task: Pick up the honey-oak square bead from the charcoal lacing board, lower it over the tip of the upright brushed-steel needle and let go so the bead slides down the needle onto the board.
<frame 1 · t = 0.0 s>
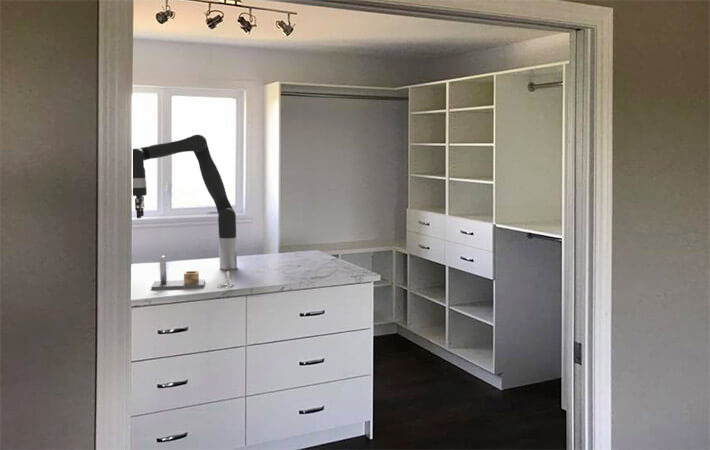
hand: (140, 217, 335), 29 cm above the cabinet, fingers open, 8 cm apart
stand: (225, 287, 305), on the cabinet
lacing board: (178, 286, 306), on the cabinet
oak bead: (191, 282, 307), point 1 cm above the cabinet, touching lacing board
steel needle: (163, 286, 305), resting on lacing board
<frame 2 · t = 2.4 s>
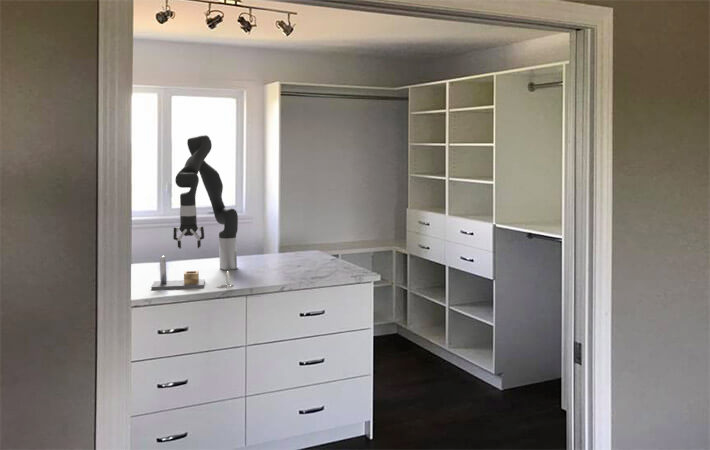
hand: (189, 248, 305), 18 cm above the cabinet, fingers open, 8 cm apart
nothing on the cabinet moved.
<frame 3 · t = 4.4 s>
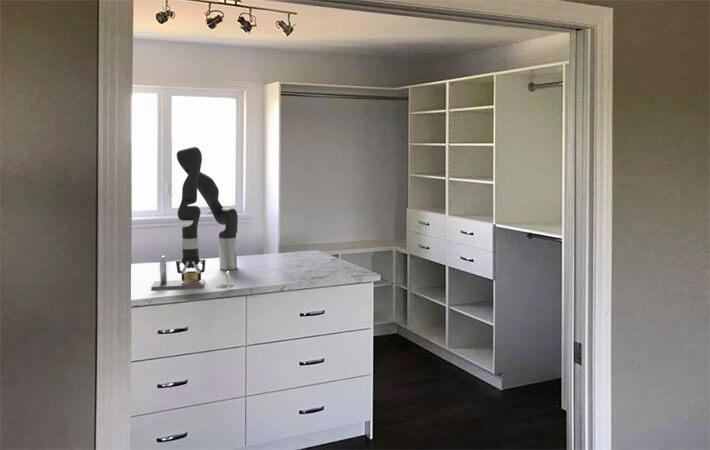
hand: (191, 281, 307), 2 cm above the cabinet, fingers closed on oak bead, 6 cm apart
oak bead: (191, 282, 307), point 2 cm above the cabinet, touching gripper, lacing board
everything else where it was.
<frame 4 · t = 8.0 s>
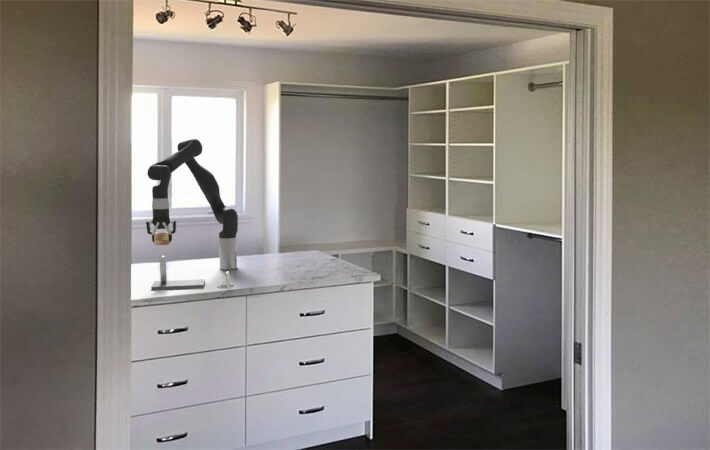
hand: (162, 242, 302), 22 cm above the cabinet, fingers closed on oak bead, 6 cm apart
oak bead: (162, 243, 302), point 21 cm above the cabinet, touching gripper
everything else where it was.
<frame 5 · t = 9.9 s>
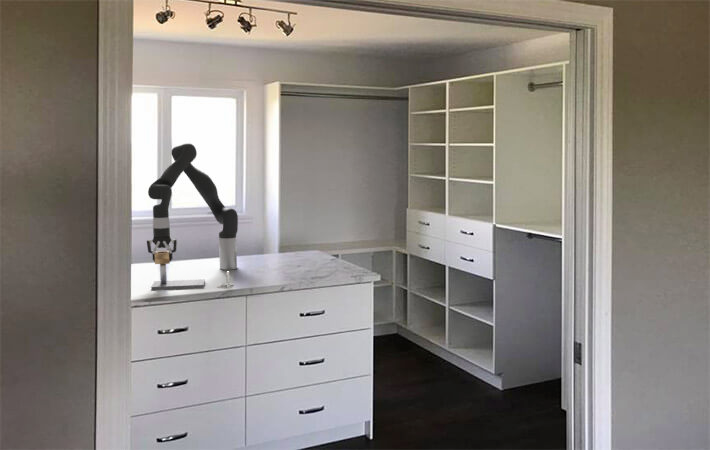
hand: (162, 261, 303), 13 cm above the cabinet, fingers closed on oak bead, 6 cm apart
oak bead: (162, 262, 303), point 12 cm above the cabinet, touching gripper
everything else where it was.
when the fingers open (11 cm above the cabinet, at t = 11.5 s): oak bead drops 8 cm, resting on lacing board.
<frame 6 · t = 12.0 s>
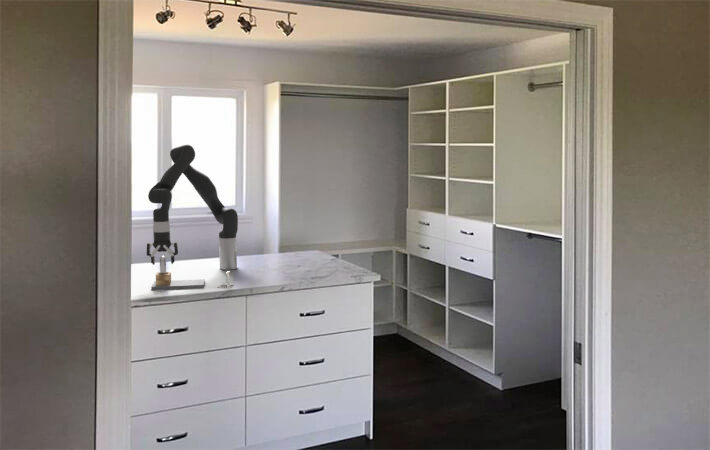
hand: (162, 264, 303), 11 cm above the cabinet, fingers open, 8 cm apart
oak bead: (163, 283, 305), point 1 cm above the cabinet, touching lacing board
everything else where it was.
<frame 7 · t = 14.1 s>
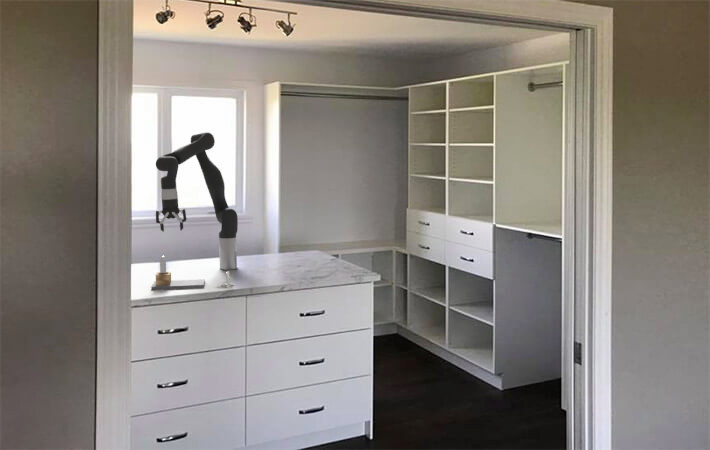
hand: (172, 230, 311), 26 cm above the cabinet, fingers open, 8 cm apart
nothing on the cabinet moved.
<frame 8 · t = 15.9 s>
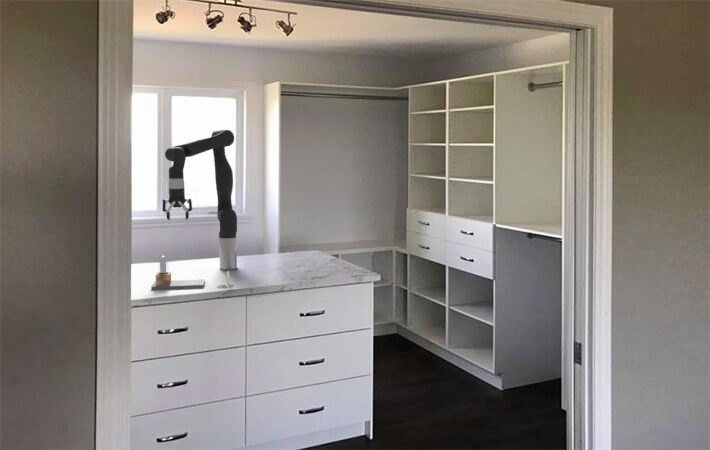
hand: (177, 219, 319), 30 cm above the cabinet, fingers open, 8 cm apart
nothing on the cabinet moved.
at the end: oak bead 0.0 cm off-centre on the steel needle, point 1.5 cm above the steel needle's base; the gripper is holding nothing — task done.
